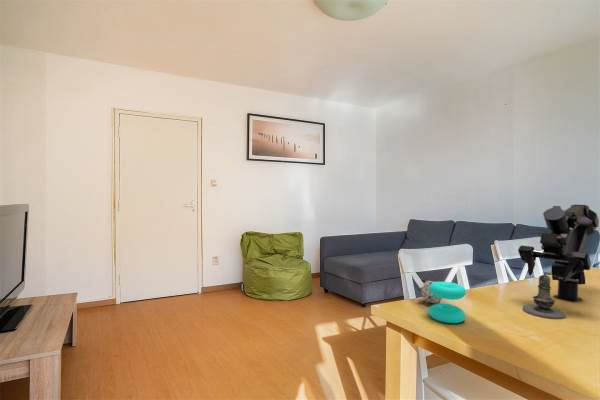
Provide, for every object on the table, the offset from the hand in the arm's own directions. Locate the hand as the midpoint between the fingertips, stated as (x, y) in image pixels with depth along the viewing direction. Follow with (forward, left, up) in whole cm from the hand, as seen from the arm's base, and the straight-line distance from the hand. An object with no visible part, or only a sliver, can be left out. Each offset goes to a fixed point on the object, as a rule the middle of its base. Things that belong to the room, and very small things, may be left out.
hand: (546, 277), depth 109 cm
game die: (+26, -23, -11) cm, 36 cm away
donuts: (+34, -12, -11) cm, 37 cm away
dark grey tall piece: (+2, 0, -10) cm, 10 cm away
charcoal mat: (+2, 0, -11) cm, 11 cm away
